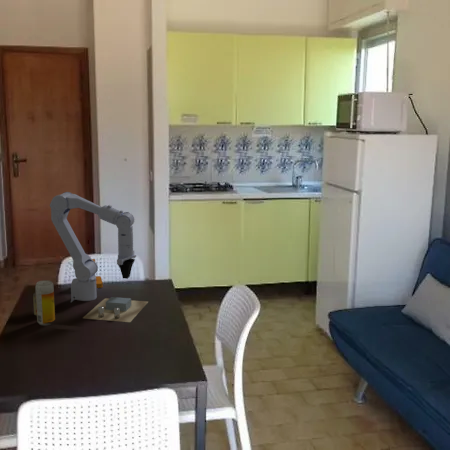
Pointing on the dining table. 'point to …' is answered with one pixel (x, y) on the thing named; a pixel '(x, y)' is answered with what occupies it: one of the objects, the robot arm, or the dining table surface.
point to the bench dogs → (116, 312)
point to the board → (124, 315)
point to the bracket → (98, 280)
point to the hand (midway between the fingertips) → (126, 277)
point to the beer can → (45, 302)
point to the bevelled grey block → (118, 303)
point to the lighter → (35, 303)
